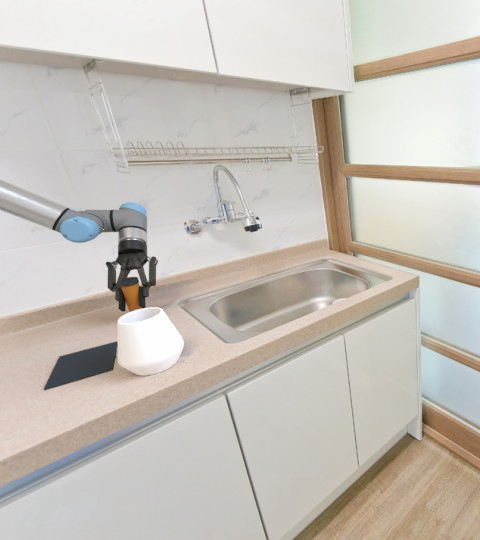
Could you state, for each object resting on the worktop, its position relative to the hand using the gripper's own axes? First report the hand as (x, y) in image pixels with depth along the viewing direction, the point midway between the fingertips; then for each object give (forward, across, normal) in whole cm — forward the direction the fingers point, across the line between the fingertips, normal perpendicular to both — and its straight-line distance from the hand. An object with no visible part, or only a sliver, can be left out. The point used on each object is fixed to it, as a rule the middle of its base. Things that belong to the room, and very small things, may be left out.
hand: (132, 308), depth 102 cm
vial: (0, 0, -5) cm, 5 cm away
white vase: (+24, -11, +16) cm, 31 cm away
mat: (+18, +6, +10) cm, 22 cm away
